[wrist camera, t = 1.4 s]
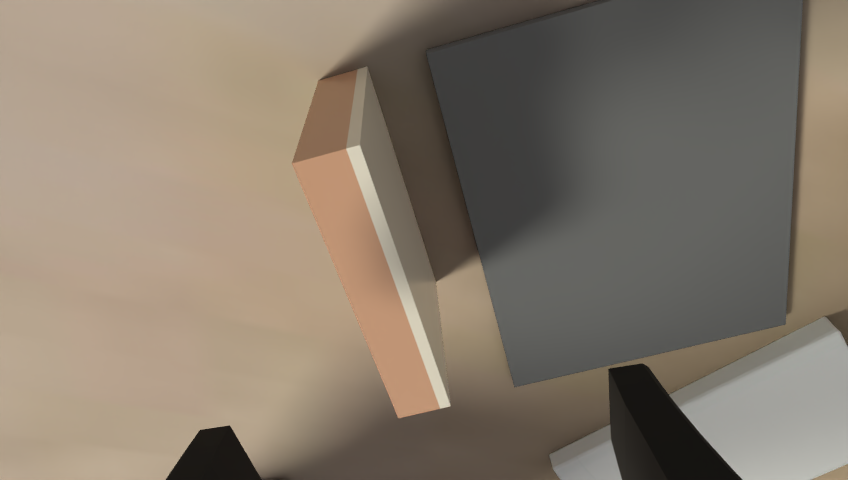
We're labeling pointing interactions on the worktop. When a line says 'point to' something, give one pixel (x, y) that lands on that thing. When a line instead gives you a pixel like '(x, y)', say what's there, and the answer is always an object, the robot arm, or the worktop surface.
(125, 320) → the worktop surface
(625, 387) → the robot arm
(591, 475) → the external hard drive
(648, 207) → the mat
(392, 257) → the tile
